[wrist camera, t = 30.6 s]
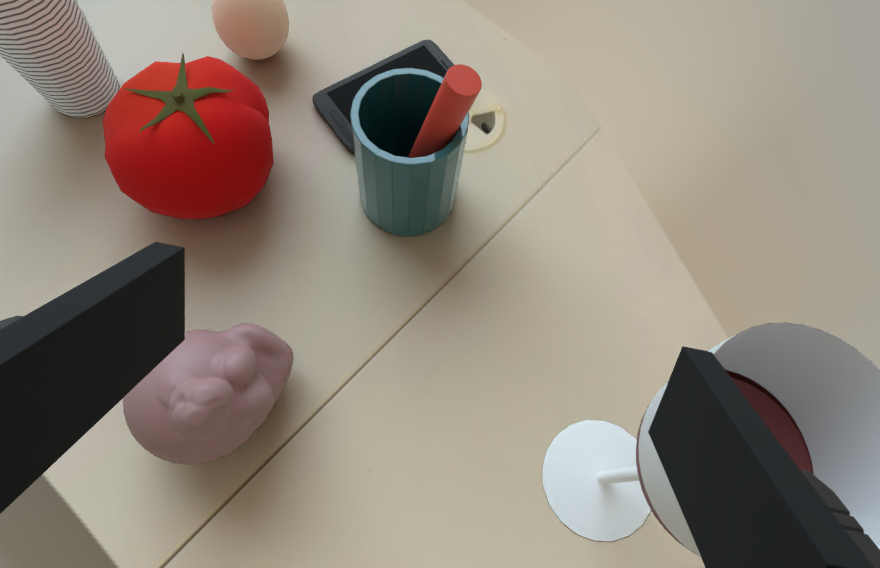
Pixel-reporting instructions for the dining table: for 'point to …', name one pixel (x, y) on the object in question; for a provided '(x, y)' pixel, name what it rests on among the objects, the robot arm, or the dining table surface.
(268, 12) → the egg
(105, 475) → the dining table surface
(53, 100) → the cup
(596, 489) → the wineglass
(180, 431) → the figurine
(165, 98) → the tomato
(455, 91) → the red round dowel
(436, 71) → the cell phone
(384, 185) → the teal pencil holder
